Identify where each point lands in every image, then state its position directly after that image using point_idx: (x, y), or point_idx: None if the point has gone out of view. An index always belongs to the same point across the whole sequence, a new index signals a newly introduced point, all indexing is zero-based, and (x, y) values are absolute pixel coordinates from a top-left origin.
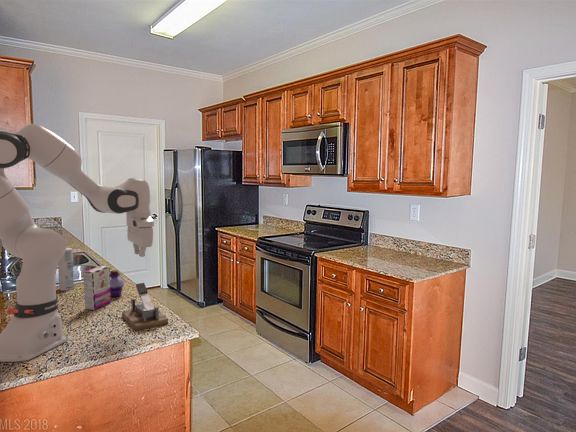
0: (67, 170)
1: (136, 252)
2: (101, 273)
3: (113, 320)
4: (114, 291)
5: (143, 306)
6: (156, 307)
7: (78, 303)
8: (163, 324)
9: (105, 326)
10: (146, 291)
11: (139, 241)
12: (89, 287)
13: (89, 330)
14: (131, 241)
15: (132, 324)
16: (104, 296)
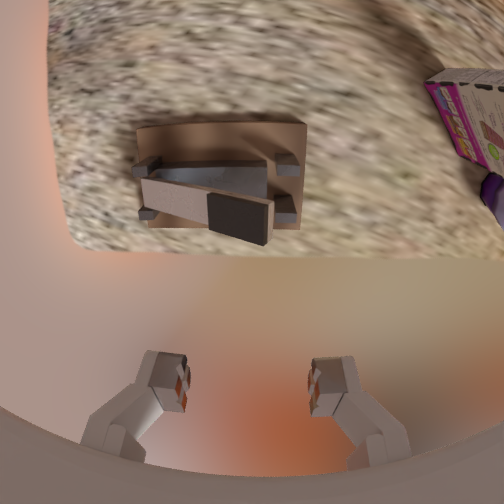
0: None
1: (317, 375)
2: None
3: (284, 87)
4: (493, 188)
5: (230, 188)
6: (145, 215)
7: None
8: None
9: (240, 52)
10: (208, 224)
11: (17, 470)
12: (482, 77)
13: (234, 8)
14: (408, 467)
15: (174, 124)
16: (463, 132)
